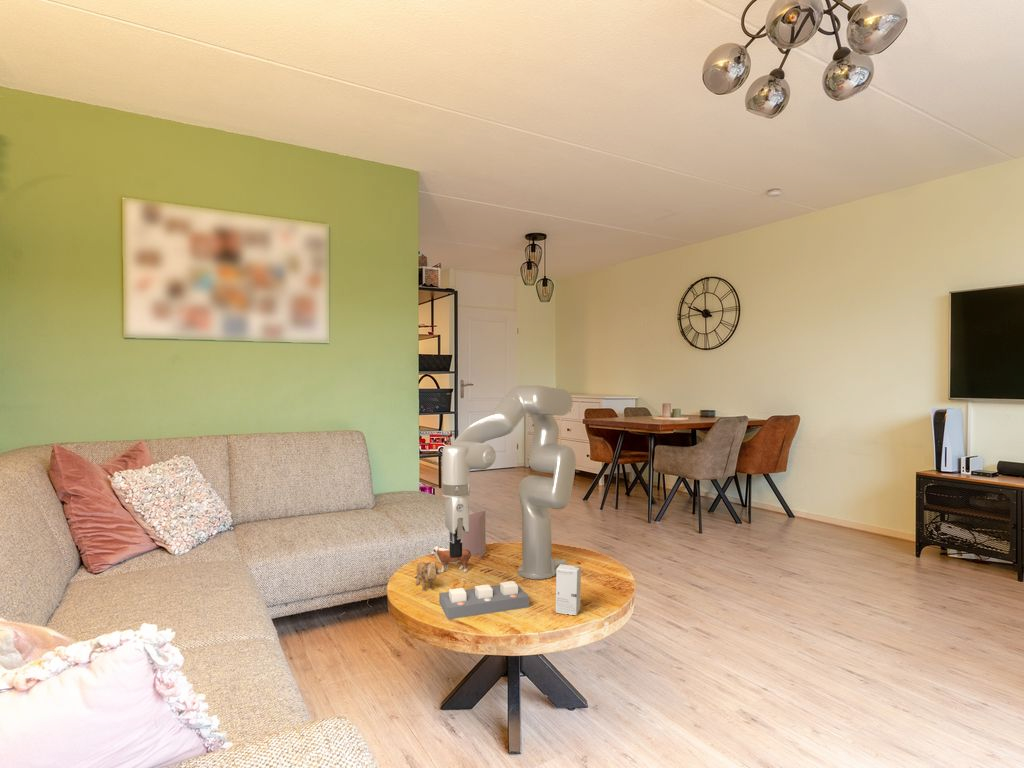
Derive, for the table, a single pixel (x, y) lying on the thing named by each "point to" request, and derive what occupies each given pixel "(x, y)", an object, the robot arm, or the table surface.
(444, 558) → the bull figurine
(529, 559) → the robot arm
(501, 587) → the inner button
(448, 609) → the button board
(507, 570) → the table surface
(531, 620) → the table surface
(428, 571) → the lion figurine
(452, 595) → the outer button
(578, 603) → the skincare box
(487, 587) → the middle button
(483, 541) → the greeting card
